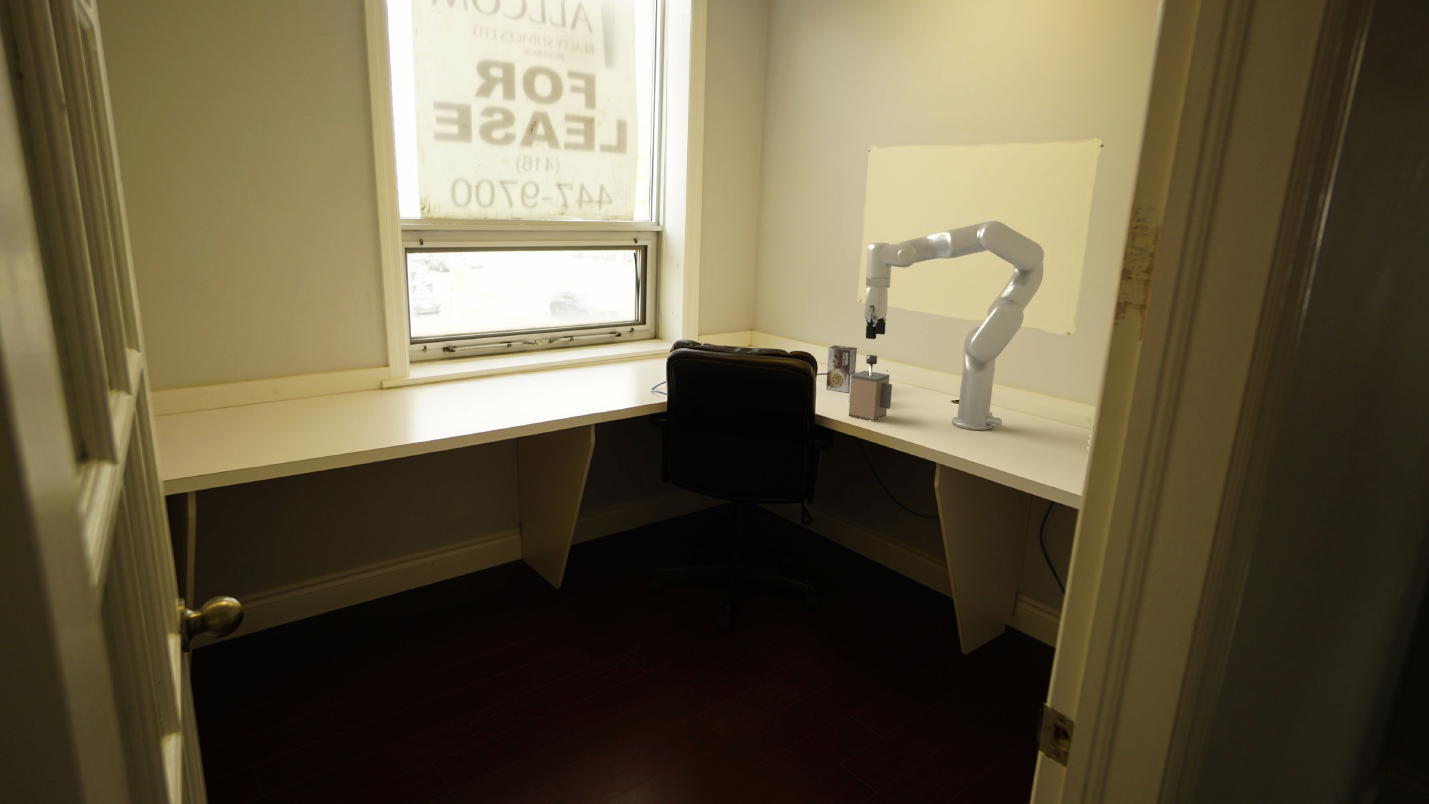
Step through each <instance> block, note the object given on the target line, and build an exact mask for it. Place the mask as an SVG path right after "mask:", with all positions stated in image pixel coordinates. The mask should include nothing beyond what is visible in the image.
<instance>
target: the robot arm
mask: <svg viewBox="0 0 1429 804" xmlns="http://www.w3.org/2000/svg"><path fill="white" fill-rule="evenodd" d="M986 251H989V252H990V253H992V254H993V255H994V256H995V255H996V257H998V258H1000V259H1002V260H1004V261H1005V262H1007V263H1010V264H1011V265H1012V266H1013V273H1012V275H1011V278H1010V279H1009V280H1008V282H1007V283H1006V285H1005V286H1004V288H1003V289H1002V291H1001V292H1000V293H998V296H997V297H996V298H995V300H994V301H992V303H991V304H990V306H989V307H988V309H987V317H986V318H985V320H984V321H983V322H982V324H981V325H980V326H976V327H974V328H972V329H971V330H970V331H969V332H968V333H967V334H966V336H965V339H964V344H963V345H964V348H963V362H962V363H963V364H962V373H961V382H960V392H959V401H958V409H957V416H955V417H953V418H952V419H951V423H952V424H953V426H956V427H958V428H961V429H967V430H974V431H983V430H984V431H985V430H990V429H992V428H993V427H994V425H995V426H1002V423H1003V419H1001V417H995V416H993V411H991V401H992V394H993V385H994V379H995V370H996V369H995V368H996V359H997V358H998V357H999V356H1000V354H1001V353H1002V352H1003V351H1004V350H1005V348H1006V347H1007V346H1008V345H1009V343H1010V342H1011V340H1013V338H1014V336H1016V334H1017V332H1018V331H1019V330H1020V328H1021V326H1022V324H1023V322H1024V316H1025V315H1024V310H1026V308H1027V306H1028V305H1029V303H1030V302H1031V300H1032V298H1033V297H1034V296H1035V295H1036V293H1037V292H1038V290H1039V288H1040V286H1041V285H1042V282H1043V277H1044V262H1043V261H1044V259H1045V251H1044V249H1043V247H1042V246H1041V245H1040V244H1039V243H1037V242H1036V241H1034V240H1032V239H1031V238H1028V237H1027V236H1025V235H1023V234H1022V233H1019V232H1018V231H1016V230H1015V229H1013V228H1011V227H1009V226H1008V225H1007V224H1005V223H1003V222H1000V221H997V220H989V221H983V222H980V223H976V224H971V225H967V226H962V227H957V228H953V229H949V230H945V231H942V232H938V233H935V234H930V235H926V236H922V237H921V236H920V237H918V238H914V239H908V240H903V241H901V242H899V243H894V244H893V243H892V244H890V243H889V242H888V243H887V242H871V243H870V244H868V245H867V251H866V253H867V254H866V256H867V257H866V273H865V275H866V277H865V288H866V292H865V299H864V300H865V301H864V309H863V310H864V311H863V318H864V319H865V322H866V323H865V339H870V340H875V339H877V335H885V334H886V323H887V322H886V321H887V319H886V318H887V313H888V297H889V296H888V289H890V288H891V278H892V277H891V273H892V267H895V268H903V269H904V268H908V267H909V268H910V267H911V266H912V265H914V264H915V263H920V262H924V261H930V260H938V259H946V260H947V259H949V260H950V259H956V258H959V257H963V256H969V255H972V254H978V253H982V252H986Z"/></svg>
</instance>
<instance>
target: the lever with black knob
mask: <svg viewBox="0 0 1429 804" xmlns="http://www.w3.org/2000/svg"><path fill="white" fill-rule="evenodd" d="M865 363H866V364H869V370H868V371H869V375H870V376H872V372H873V367H874V365H877V364H878V355H875V354H867V355H866V361H865Z"/></svg>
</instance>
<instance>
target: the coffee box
mask: <svg viewBox="0 0 1429 804" xmlns="http://www.w3.org/2000/svg"><path fill="white" fill-rule="evenodd" d="M857 351H858V348H857V347H853V346H845V345H836V344H835V345H832V346H830V347H828V348H827V370H826V371H827V373H826V388H825V389H826V390H828V391H835V392H841V393H848V394H849V388H850V375H851V374H852V373H856V367H857V364H856V363H857V353H858V352H857Z"/></svg>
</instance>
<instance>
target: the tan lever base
mask: <svg viewBox="0 0 1429 804" xmlns="http://www.w3.org/2000/svg"><path fill="white" fill-rule="evenodd" d="M869 371H870V370H863V371H860V372H859V371H858V372H855V373H856V374H853V375H852V376H851V391H850V403H849V406H848V407H849V409H848V417H849V416H851V417H850V418H854V417H855V419H859V418H861V419H860V420H865V421H868V420H871V421H870V422H873V421H874V422H876V421H879V420H880V419H883V418H885V417H887V410H890V409H891V406H892V405H891V403H892V402H891V401H892V391H893V384H892V383H890V374H886V373H882V372H876V371H872V376H870V375H869ZM882 417H883V418H882ZM879 418H880V419H879ZM875 420H876V421H875Z"/></svg>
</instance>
